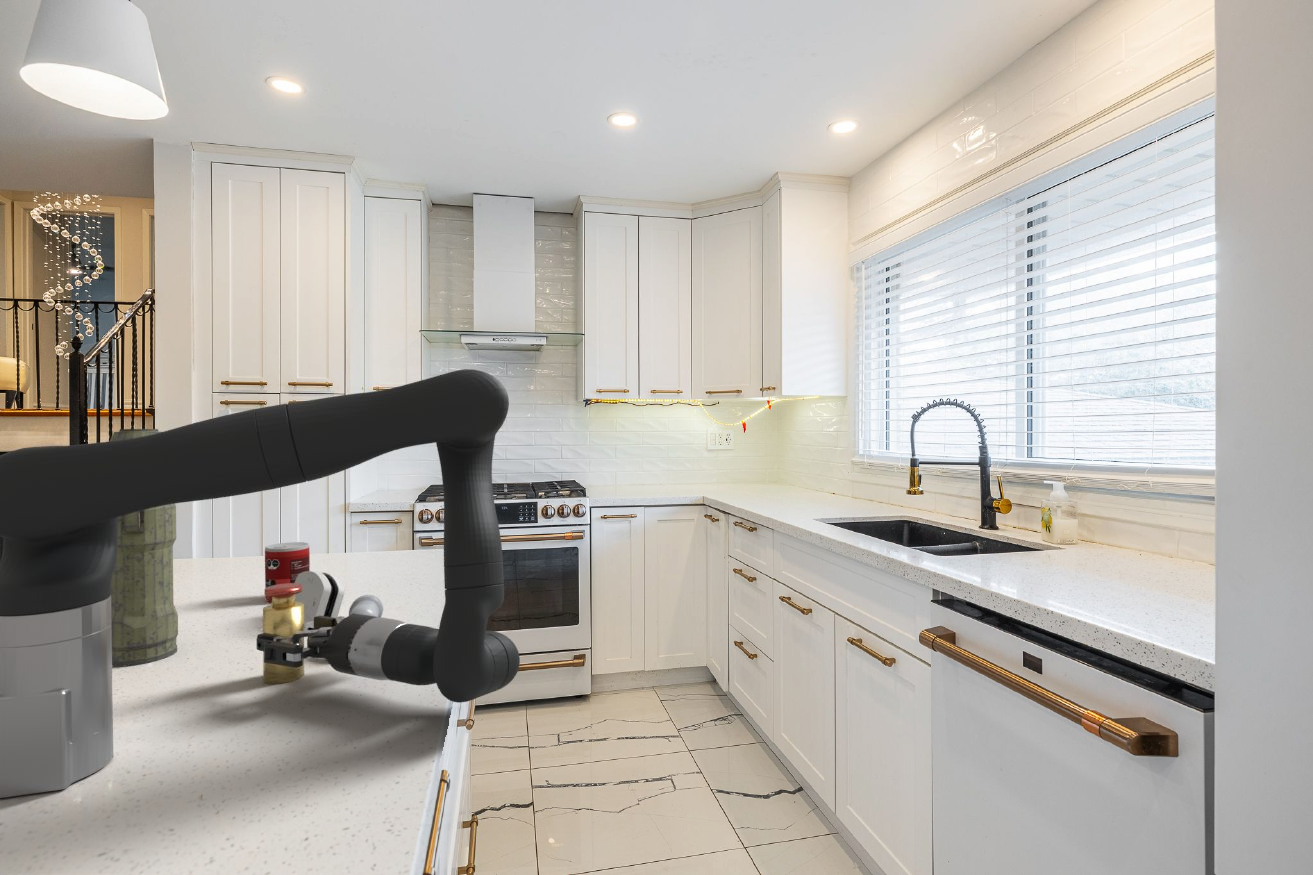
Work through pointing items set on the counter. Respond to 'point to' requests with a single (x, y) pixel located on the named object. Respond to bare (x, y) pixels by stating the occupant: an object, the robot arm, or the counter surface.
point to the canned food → (285, 563)
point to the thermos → (143, 582)
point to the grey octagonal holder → (367, 606)
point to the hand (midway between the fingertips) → (288, 631)
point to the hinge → (319, 595)
